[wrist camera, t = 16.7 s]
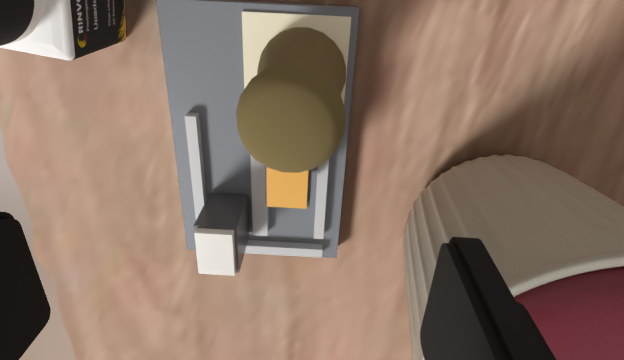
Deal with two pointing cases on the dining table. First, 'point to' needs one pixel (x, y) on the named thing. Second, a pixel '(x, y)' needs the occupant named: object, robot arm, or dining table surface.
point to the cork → (294, 102)
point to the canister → (528, 249)
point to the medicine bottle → (61, 26)
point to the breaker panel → (223, 122)
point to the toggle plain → (222, 234)
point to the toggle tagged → (287, 189)
